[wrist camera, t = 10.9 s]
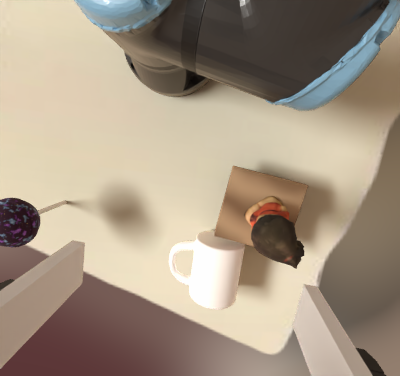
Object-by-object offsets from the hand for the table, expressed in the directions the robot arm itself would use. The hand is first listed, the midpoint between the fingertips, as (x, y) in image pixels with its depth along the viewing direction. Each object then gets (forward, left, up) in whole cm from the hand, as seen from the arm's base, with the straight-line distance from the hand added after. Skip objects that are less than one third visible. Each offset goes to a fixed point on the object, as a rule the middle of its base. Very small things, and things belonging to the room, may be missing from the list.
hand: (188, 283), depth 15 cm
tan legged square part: (0, +8, -29) cm, 30 cm away
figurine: (0, +9, -23) cm, 25 cm away
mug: (+12, +2, -29) cm, 32 cm away
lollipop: (+9, -25, -29) cm, 40 cm away
